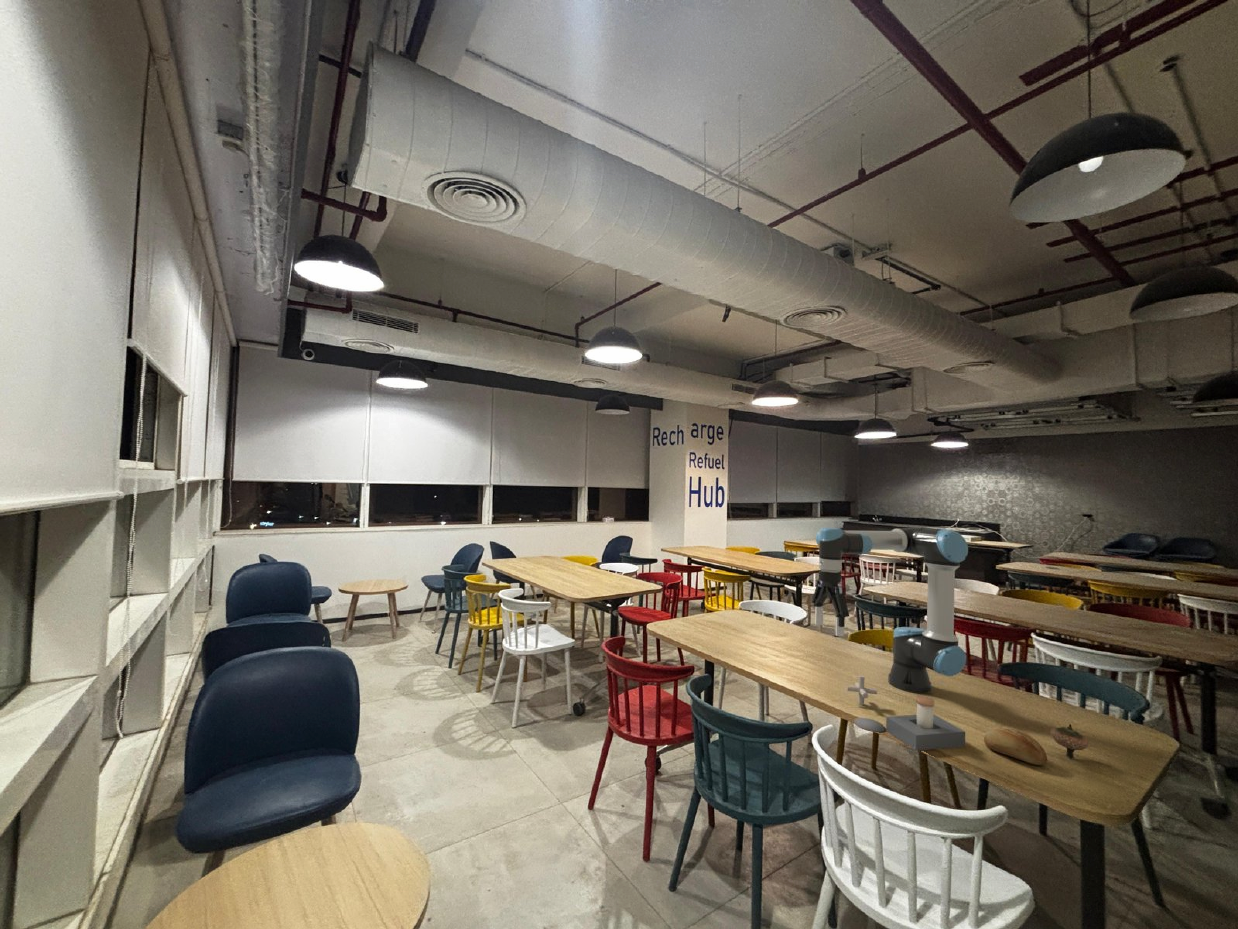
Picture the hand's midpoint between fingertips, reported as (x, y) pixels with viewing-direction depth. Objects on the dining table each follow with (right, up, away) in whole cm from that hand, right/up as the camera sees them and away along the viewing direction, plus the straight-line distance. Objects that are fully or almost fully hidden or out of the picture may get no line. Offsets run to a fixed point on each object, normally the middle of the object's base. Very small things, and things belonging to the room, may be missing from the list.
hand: (829, 630), depth 174 cm
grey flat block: (+22, -27, -20) cm, 40 cm away
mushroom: (+22, -28, -20) cm, 40 cm away
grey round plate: (+8, -27, -13) cm, 31 cm away
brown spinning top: (+60, -29, -29) cm, 73 cm away
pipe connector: (+13, -29, +3) cm, 32 cm away
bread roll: (+43, -28, -29) cm, 59 cm away
